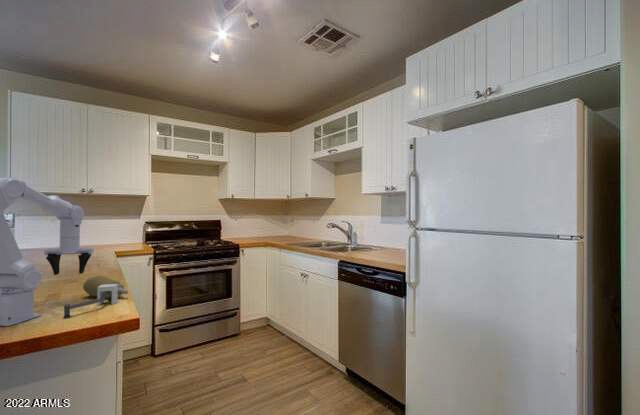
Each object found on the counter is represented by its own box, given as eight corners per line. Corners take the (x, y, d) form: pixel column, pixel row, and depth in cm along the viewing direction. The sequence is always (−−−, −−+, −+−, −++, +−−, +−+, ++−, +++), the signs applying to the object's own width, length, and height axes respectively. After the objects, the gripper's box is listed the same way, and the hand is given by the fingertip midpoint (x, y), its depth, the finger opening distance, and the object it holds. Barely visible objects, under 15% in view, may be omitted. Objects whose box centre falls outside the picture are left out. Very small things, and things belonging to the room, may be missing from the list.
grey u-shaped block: (114, 304, 111) (114, 286, 111) (97, 305, 109) (97, 287, 109) (117, 301, 114) (117, 283, 115) (101, 302, 113) (101, 284, 113)
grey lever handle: (73, 319, 95) (74, 306, 95) (57, 317, 96) (57, 305, 96) (124, 300, 115) (124, 290, 115) (110, 299, 116) (110, 289, 116)
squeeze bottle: (96, 294, 124) (132, 302, 120) (77, 295, 117) (115, 304, 113) (101, 274, 126) (137, 281, 122) (83, 274, 118) (120, 281, 114)
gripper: (97, 235, 119) (96, 270, 119) (51, 236, 114) (50, 272, 114) (89, 237, 112) (89, 274, 112) (41, 238, 108) (40, 276, 108)
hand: (69, 273), depth 113 cm, fingers open, 7 cm apart
